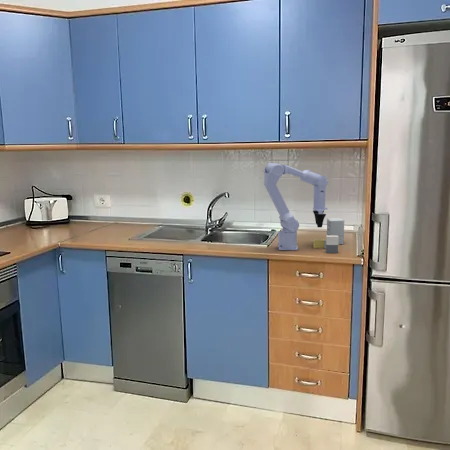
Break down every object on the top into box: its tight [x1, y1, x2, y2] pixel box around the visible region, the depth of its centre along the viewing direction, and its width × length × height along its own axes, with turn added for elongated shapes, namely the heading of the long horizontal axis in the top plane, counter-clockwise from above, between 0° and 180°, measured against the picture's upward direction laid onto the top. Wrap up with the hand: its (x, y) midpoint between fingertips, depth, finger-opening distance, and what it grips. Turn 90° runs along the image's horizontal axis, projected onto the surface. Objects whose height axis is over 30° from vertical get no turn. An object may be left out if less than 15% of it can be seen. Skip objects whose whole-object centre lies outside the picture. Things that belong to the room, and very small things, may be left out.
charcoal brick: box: [325, 244, 339, 254], centre depth 226 cm, size 6×3×4 cm, turn 84°
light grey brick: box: [325, 234, 339, 246], centre depth 226 cm, size 6×3×4 cm, turn 84°
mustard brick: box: [312, 238, 326, 249], centre depth 237 cm, size 6×3×4 cm, turn 84°
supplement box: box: [326, 217, 345, 245], centre depth 244 cm, size 7×7×13 cm
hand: (318, 225), depth 238 cm, fingers open, 7 cm apart
